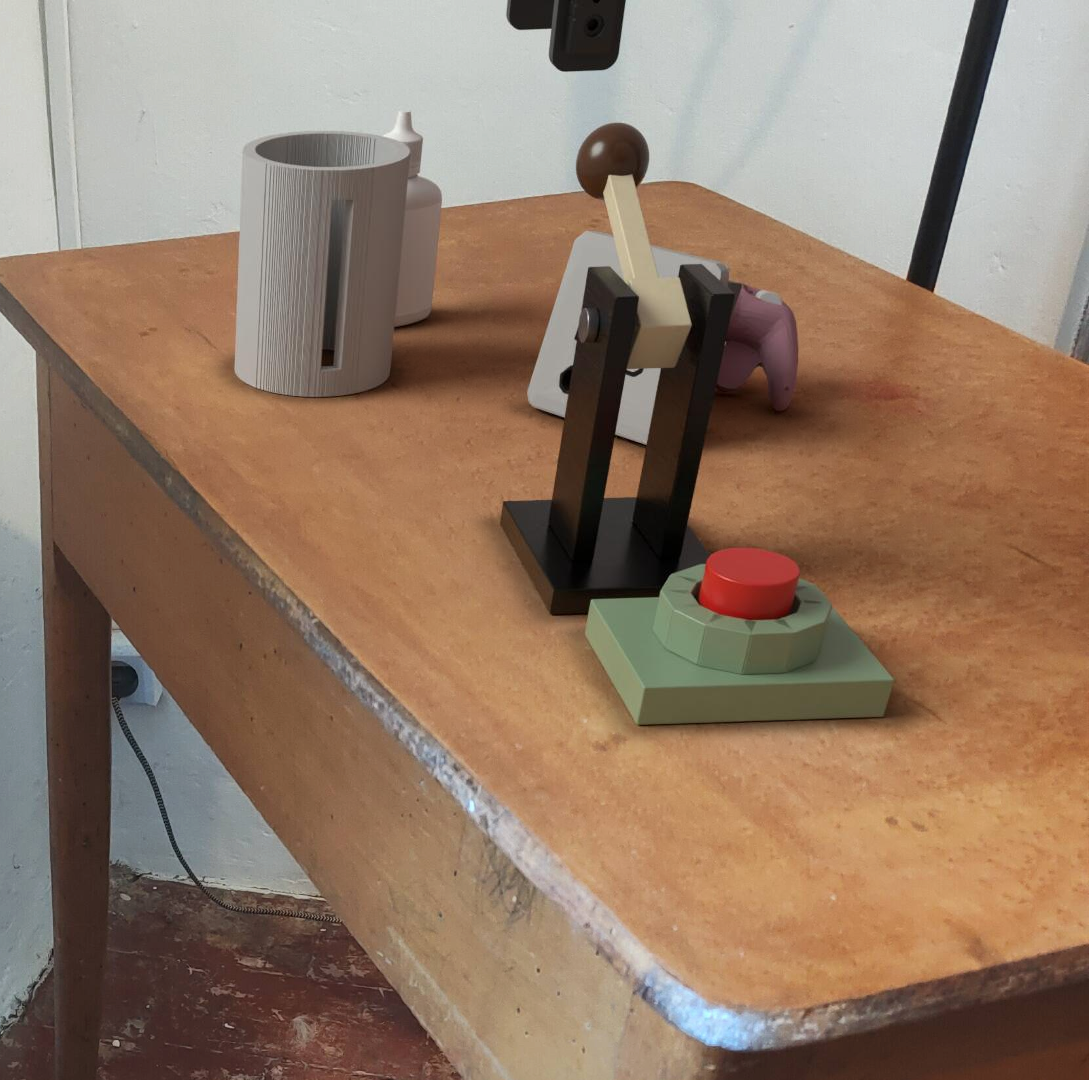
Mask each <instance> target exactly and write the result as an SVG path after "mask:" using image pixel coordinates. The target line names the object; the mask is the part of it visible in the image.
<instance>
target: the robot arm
mask: <svg viewBox="0 0 1089 1080" xmlns="http://www.w3.org/2000/svg"><path fill="white" fill-rule="evenodd" d="M626 2H627V0H507V3H506V11H505V13H506V14H505V15H506V19H507V22H508V23H509V25H511V27H512V28H514V29H515V30H518V31H530V30H531V31H532V30H534V31H535V30H550V39H549V47H548V60H549V61H550V63H551V64H552V66H553V67H555V68H556V69H557V70H558V71H560V72H564V73H569V72H571V73H572V72H574V73H575V72H597V71H606V70H608V69H610V68H611V67H612V66H614V65H615V64H616V62H617V60H618V58H619V54H620V47H621V40H622V34H623V33H622V32H623V25H624V24H623V23H624V17H625V11H626V10H625V9H626Z"/></svg>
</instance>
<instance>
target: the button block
mask: <svg viewBox="0 0 1089 1080" xmlns="http://www.w3.org/2000/svg"><path fill="white" fill-rule="evenodd" d="M705 566H706V564H700V565H697V566H694V567H691V568H688V569H685V570H682V571H679V572H676V573H673V574H671V575H670V576H669V578H668V579H667V581H666V583H665V584H664V586H663V588H662V589H661V591H660V595H659V597H650V598H618V599H592V600H591V602H590V607H589V613H587V618H586V619H587V620H586V625H585V629H584V631H585V632H584V636H585V638H586V639H587V641H588V643H589V644H590V646H591V648H592V650H593V652H594V653H595V655H596V656H597V658H598V660H599V662H600V663H601V665H602V668H603V669H604V670H605V673H606V674H607V676H608V677H609V679H610V680H611V683H612V684H613V686H614V688H615V690H616V691H617V693H618V695H619V697H620V698H621V700H622V702H623V703H624V706H625V708H627V710H628V712H629V714H630V715H631V717H632V719H633V720H634V723H635V724H636V725H638V726H641V725H642V726H646V725H673V724H674V725H675V724H701V723H702V724H703V723H705V724H706V723H733V722H736V723H737V722H764V721H766V722H768V721H794V720H796V721H798V720H822V719H823V720H827V719H829V720H830V719H853V718H859V719H860V718H883V717H884V715H885V712H886V709H887V706H888V702H889V699H890V695H891V693H892V689H893V686H894V682H895V679H894V677H893V676H892V675H891V674H890V672H889V671H888V670H887V669H886V668H885V667H884V665H883V664H882V663H881V662H880V660H878V659H877V657H876V656H875V655H874V654H873V653H872V651H871V650H870V649H869V648H868V647H867V645H866V644H865V643H864V642H863V641H862V639H861V637H859V635H857V634H856V632H855V631H854V630H853V629H852V628H851V626H850V625H849V624H848V623H847V622H846V620H844V619H843V617H842V616H841V614H840V613H839V612H838V611H837V610H836V609H835V607H834V606H833V603H832V602H831V601H830V599H829V598H828V597H827V596H826V595H825V594H824V592H823V591H822V590H821V589H820V588H819V586H817V585H816V584H814V583H812V582H810V581H807V580H805V579H803V578H800V577H799V580H798V584H797V588H796V592H795V596H794V600H793V604H792V608H791V611H790V613H789V615H788V616H786V617H783V618H780V619H778V620H745V619H740V618H735V617H730V616H724V615H719V614H717V613H715V612H713V611H711V610H709V609H707V608H705V607H703V606H701V605H700V604H699V594H700V589H701V584H702V580H703V575H704V571H705Z"/></svg>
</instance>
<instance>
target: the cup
mask: <svg viewBox="0 0 1089 1080" xmlns="http://www.w3.org/2000/svg"><path fill="white" fill-rule="evenodd" d="M383 136H384V135H378V134H372V133H366V132H357V131H347V130H346V131H345V130H304V131H303V130H302V131H291V132H283V133H275V134H271V135H266V136H262V137H259V138H256V139H253V140H251V141H249V142H247V143H246V144H244V146H243V147H242V157H241V161H242V162H241V182H240V183H241V185H240V209H239V211H240V212H239V235H238V236H239V237H238V241H239V242H238V265H237V267H238V268H237V290H236V291H237V292H236V293H237V294H236V295H237V296H236V316H235V317H236V320H235V342H234V343H235V346H234V374H235V375H236V376H237V378H238V379H239V380H240V381H242V382H243V383H244V384H247V385H249V386H250V387H253V388H254V389H255V388H256V389H258V390H262V391H265V392H268V393H269V392H270V393H273V394H280V395H285V396H291V397H305V398H307V397H308V398H314V397H315V398H326V397H327V398H328V397H340V396H348V395H353V394H357V393H363V392H366V391H369V390H372V389H375V388H377V387H378V386H380V385H382V384H384V382H386V381H388V379H389V376H390V375H391V367H392V356H393V346H394V345H393V344H394V334H395V327H394V324H395V313H396V303H397V292H398V281H399V270H400V259H401V249H402V238H403V227H404V216H405V205H406V194H407V184H408V173H409V162H410V149H409V147H408V146H407V145H405V144H404V143H402V142H400V141H397V140H395V139H391V138H387V137H383ZM323 350H328V351H334V353H333V365H322V358H323V357H322V356H323Z"/></svg>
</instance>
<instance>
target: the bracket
mask: <svg viewBox="0 0 1089 1080" xmlns="http://www.w3.org/2000/svg"><path fill="white" fill-rule="evenodd" d="M678 278H680V280H681V284H682V288H683V292H684V296H685V300H686V303H687V307H688V311H689V315H690V319H691V323H692V326H691V329H690V331H689V334H688V336H687V339H686V341H685V344H684V346H683V349H682V351H681V354H680V356H679V359H678V361H677V364H676V366H675V367H674V368H661V370H660V376H659V381H658V386H657V391H656V397H655V402H654V407H653V413H652V418H651V423H650V429H649V434H648V439H647V445H645V449H644V450H645V451H644V455H643V456H644V457H643V461H642V467H641V472H640V477H639V482H638V488H637V492H636V496H629V497H626V496H625V497H605V494H606V489H607V482H608V478H609V472H610V466H611V460H612V454H613V449H614V444H615V438H616V435H615V432H616V427H617V421H618V415H619V410H620V404H621V398H622V393H623V387H624V381H625V375H626V370H627V364H628V358H629V353H630V347H631V341H632V336H633V330H634V324H635V319H636V313H637V307H638V302H639V296H638V295H637V294H636V293H635V292H634V291H633V290H632V289H631V288H630V287H629V286H628V285H627V284H626V283H625V281H624V280H623V279H622V278H621V277H620V276H619V275H618V274H617V273H616V272H615V271H614V270H613V269H612V268H611V267H610V266H604V267H589V268H588V272H587V278H586V284H585V291H584V297H583V304H582V310H581V314H580V318H579V325H578V335H577V342H576V348H575V355H574V361H573V367H572V374H571V380H570V387H569V393H568V399H567V406H566V412H565V417H564V420H563V426H562V432H561V438H560V444H559V445H560V446H559V450H558V458H557V466H556V470H555V476H554V483H553V488H552V489H553V490H552V495H551V496H552V497H551V499H530V500H529V499H527V500H503V501H502V505H501V515H500V521H499V525H500V526H501V528H502V530H503V532H504V533H505V535H506V538H507V540H508V541H509V543H510V544H511V546H512V549H513V550H514V552H515V554H516V556H517V558H518V559H519V561H520V563H521V564H522V566H523V568H524V570H525V572H526V573H527V575H528V577H529V579H530V581H531V582H532V584H533V586H534V588H535V590H536V592H537V593H538V595H539V598H540V600H541V601H542V602H543V604H544V606H545V608H546V610H547V611H548V613H549V615H577V614H581V615H582V614H588V613H589V607H590V602H591V600H592V599H618V598H650V597H659V595H660V591H661V589H662V588H663V586H664V584H665V583H666V581H667V579H668V578H669V576H670V575H671V574H673V573H676V572H679V571H682V570H685V569H688V568H691V567H694V566H697V565H700V564H706V562H707V559H708V558H709V557H710V556H711V555H712V554H711V553H710V552H709V550H708V549H707V548H706V546H705V545H704V544H703V543H702V541H701V540H700V539H699V538H698V536H697V535H696V534H695V532H694V531H693V529H691V526H689V524H688V523H689V518H690V514H691V509H692V505H693V500H694V493H695V489H696V485H697V480H698V476H699V471H700V465H701V461H702V456H703V451H704V447H705V441H706V437H707V432H708V427H709V422H710V417H711V412H712V409H713V403H714V399H715V395H716V394H715V393H716V390H717V389H716V384H717V379H718V375H719V370H720V365H721V360H722V356H723V351H724V346H725V344H726V336H727V332H728V327H729V322H730V317H731V312H732V308H733V303H734V298H735V294H734V293H733V292H732V291H731V290H730V289H729V288H728V287H727V286H726V285H724V284H723V283H722V282H721V281H720V280H719V279H718V278H717V277H716V276H715V275H713V274H712V273H711V272H710V271H709V270H708V269H707V268H706V267H705V266H704V265H702V264H682V265H680V269H679V274H678Z"/></svg>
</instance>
